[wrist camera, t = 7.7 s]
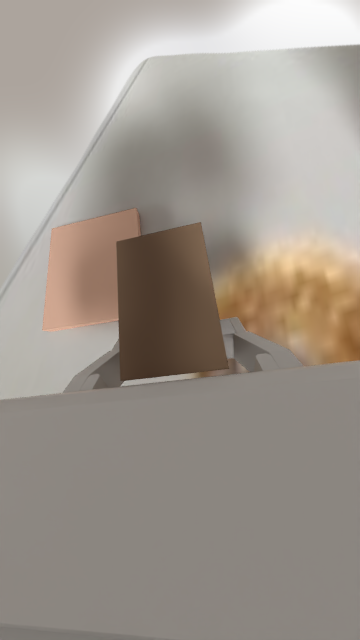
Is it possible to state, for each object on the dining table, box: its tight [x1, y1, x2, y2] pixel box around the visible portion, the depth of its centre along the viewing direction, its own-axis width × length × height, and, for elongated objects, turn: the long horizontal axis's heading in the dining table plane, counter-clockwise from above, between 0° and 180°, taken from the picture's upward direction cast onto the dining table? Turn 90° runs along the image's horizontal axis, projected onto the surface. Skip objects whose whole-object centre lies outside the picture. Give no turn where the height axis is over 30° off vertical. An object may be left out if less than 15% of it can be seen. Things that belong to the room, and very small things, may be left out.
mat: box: [42, 208, 141, 331], centre depth 19 cm, size 12×14×1 cm
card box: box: [116, 222, 229, 381], centre depth 11 cm, size 4×7×9 cm, turn 8°
